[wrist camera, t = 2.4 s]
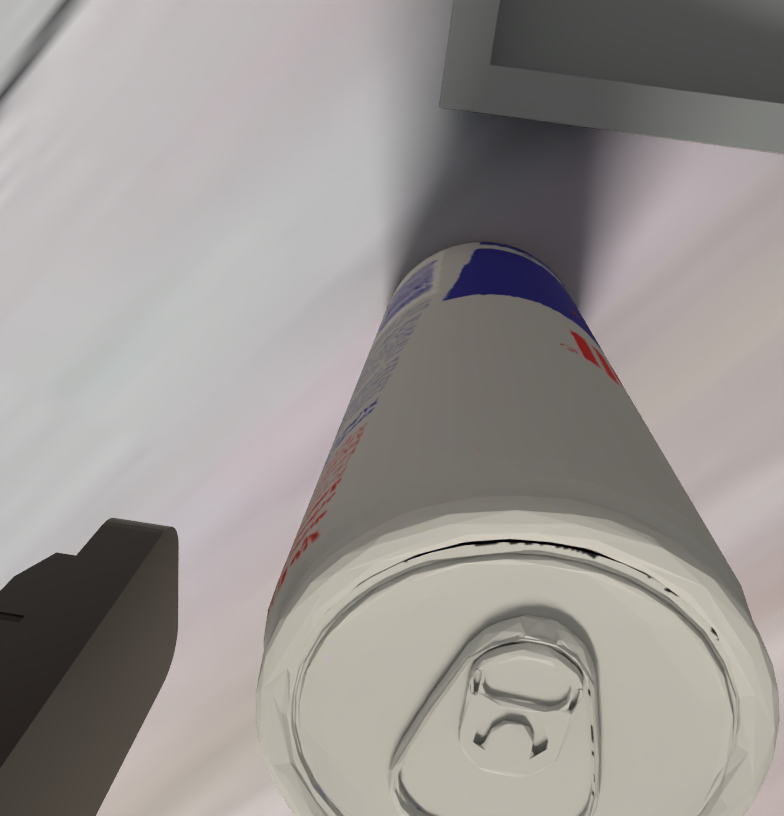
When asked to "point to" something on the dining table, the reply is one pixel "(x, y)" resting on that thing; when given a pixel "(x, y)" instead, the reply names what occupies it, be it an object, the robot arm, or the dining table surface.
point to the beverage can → (506, 583)
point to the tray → (625, 66)
